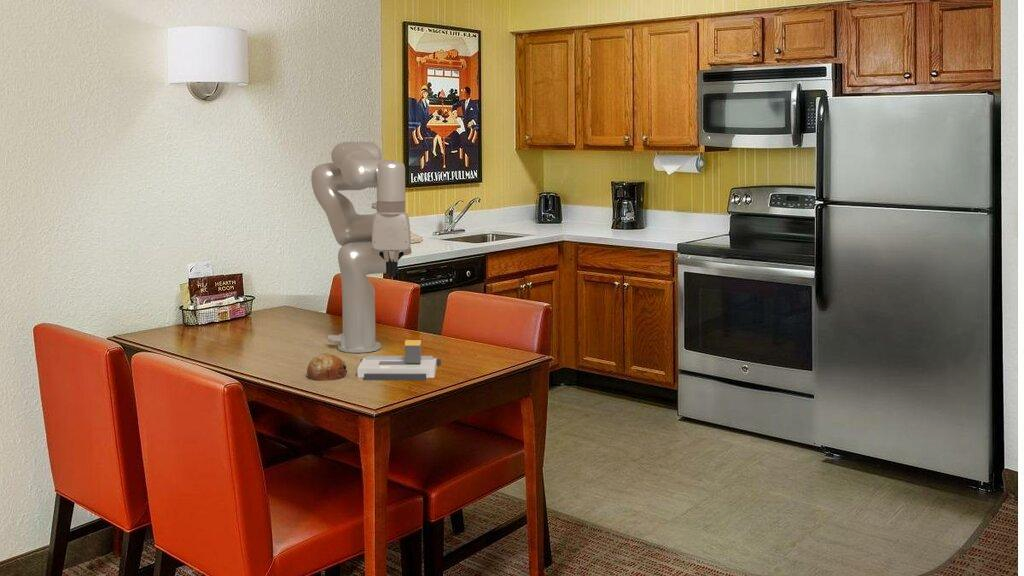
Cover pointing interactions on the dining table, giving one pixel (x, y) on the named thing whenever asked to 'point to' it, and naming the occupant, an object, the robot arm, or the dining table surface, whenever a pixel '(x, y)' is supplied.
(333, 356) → the bread roll
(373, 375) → the dark grey plate
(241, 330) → the dining table surface
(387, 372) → the base
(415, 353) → the breaker lever
